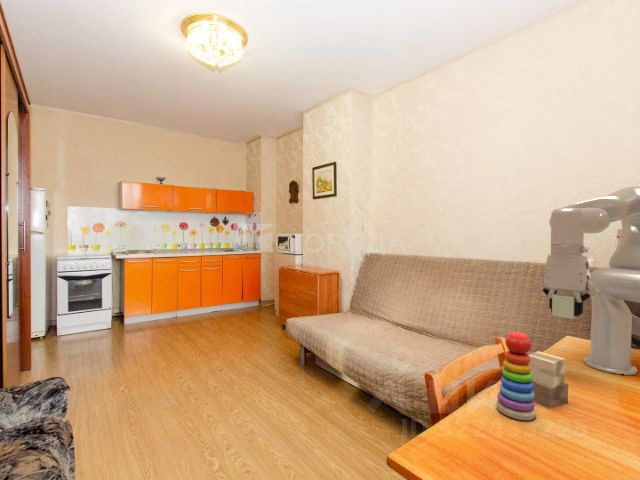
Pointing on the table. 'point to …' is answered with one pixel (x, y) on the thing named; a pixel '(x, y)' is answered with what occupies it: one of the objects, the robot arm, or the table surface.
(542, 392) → the walnut base
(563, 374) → the maple block
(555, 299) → the sage block
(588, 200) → the robot arm
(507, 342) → the stacking toy
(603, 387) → the table surface
